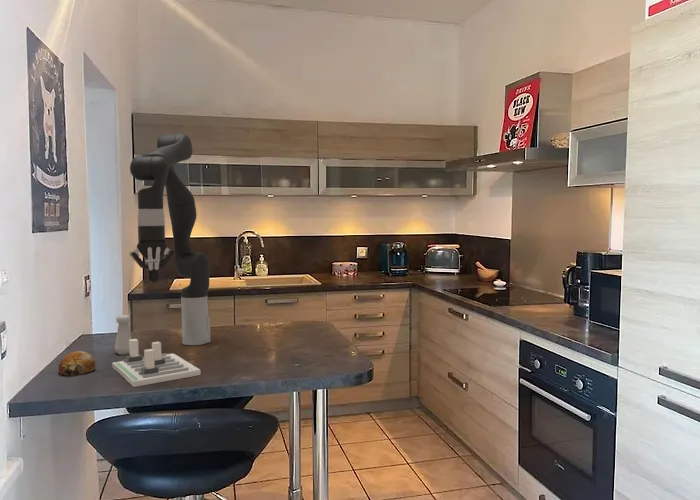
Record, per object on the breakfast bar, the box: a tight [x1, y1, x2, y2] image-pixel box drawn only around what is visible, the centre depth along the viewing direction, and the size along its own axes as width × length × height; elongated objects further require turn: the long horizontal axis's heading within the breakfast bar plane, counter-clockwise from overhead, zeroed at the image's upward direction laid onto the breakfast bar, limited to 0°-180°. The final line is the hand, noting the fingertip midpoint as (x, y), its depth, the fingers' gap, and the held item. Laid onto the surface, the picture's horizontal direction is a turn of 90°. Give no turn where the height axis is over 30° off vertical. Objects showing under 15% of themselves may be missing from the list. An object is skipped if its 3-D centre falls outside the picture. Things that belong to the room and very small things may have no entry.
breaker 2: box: [141, 348, 158, 376], centre depth 160 cm, size 4×3×7 cm
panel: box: [112, 353, 202, 388], centre depth 169 cm, size 19×24×2 cm
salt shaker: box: [114, 314, 133, 356], centre depth 190 cm, size 6×6×13 cm
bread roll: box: [58, 350, 96, 377], centre depth 169 cm, size 10×10×8 cm
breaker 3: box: [151, 341, 165, 365], centre depth 169 cm, size 4×3×7 cm
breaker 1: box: [125, 338, 143, 363], centre depth 173 cm, size 4×3×7 cm
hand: (152, 282), depth 167 cm, fingers closed
